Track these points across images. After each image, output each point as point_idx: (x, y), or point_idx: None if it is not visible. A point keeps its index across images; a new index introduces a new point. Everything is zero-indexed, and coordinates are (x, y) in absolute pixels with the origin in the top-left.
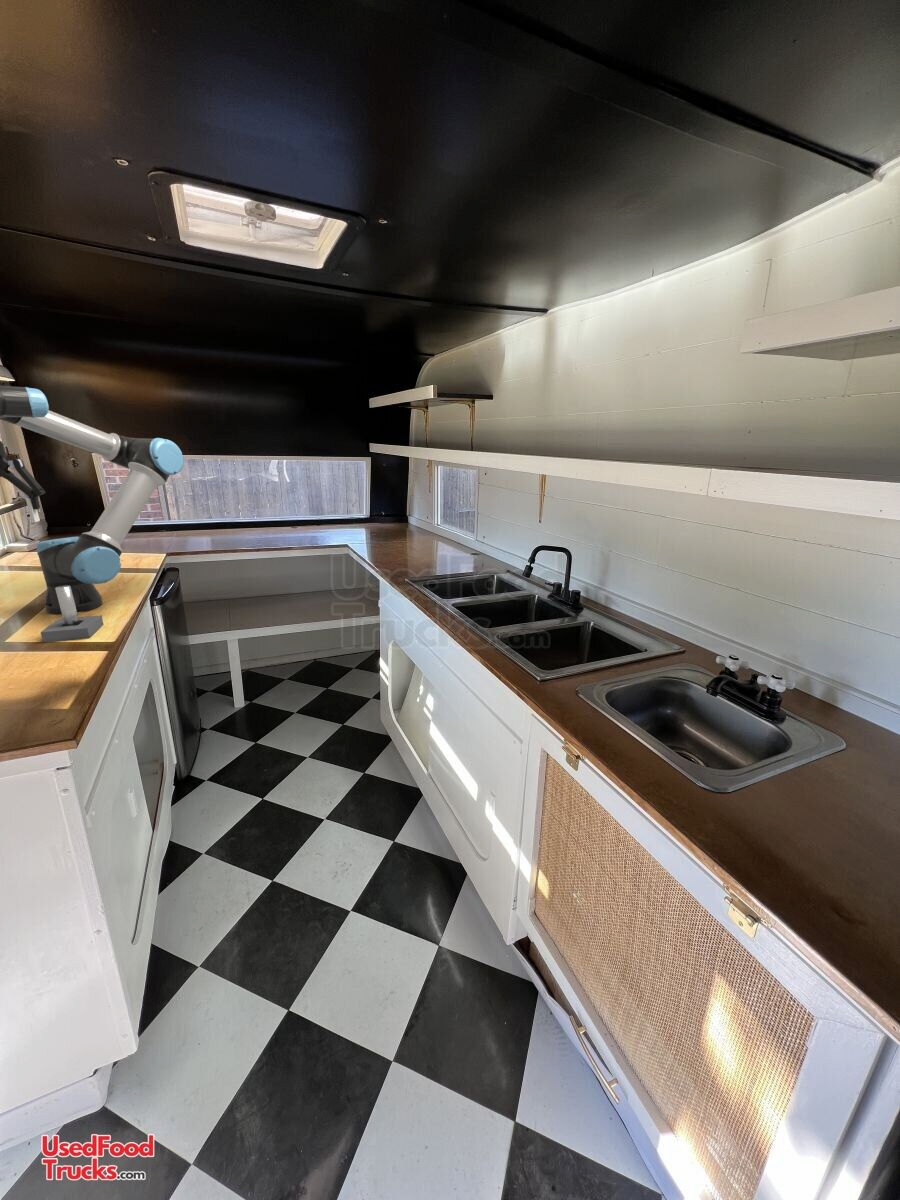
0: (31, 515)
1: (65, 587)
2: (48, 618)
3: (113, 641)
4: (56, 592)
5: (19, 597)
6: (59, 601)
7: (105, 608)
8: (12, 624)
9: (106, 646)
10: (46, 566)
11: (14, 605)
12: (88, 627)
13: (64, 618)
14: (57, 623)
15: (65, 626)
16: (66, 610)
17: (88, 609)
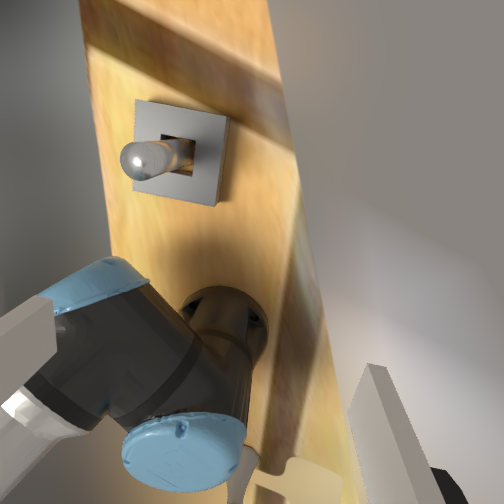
0: (6, 326)
1: (128, 150)
2: (255, 278)
3: (90, 50)
4: (158, 153)
5: (330, 427)
6: (165, 147)
7: (166, 294)
8: (311, 270)
9: (95, 18)
10: (228, 374)
11: (330, 385)
12: (135, 106)
13: (179, 143)
14: (207, 169)
15: (184, 136)
16: (163, 140)
17: (192, 294)
